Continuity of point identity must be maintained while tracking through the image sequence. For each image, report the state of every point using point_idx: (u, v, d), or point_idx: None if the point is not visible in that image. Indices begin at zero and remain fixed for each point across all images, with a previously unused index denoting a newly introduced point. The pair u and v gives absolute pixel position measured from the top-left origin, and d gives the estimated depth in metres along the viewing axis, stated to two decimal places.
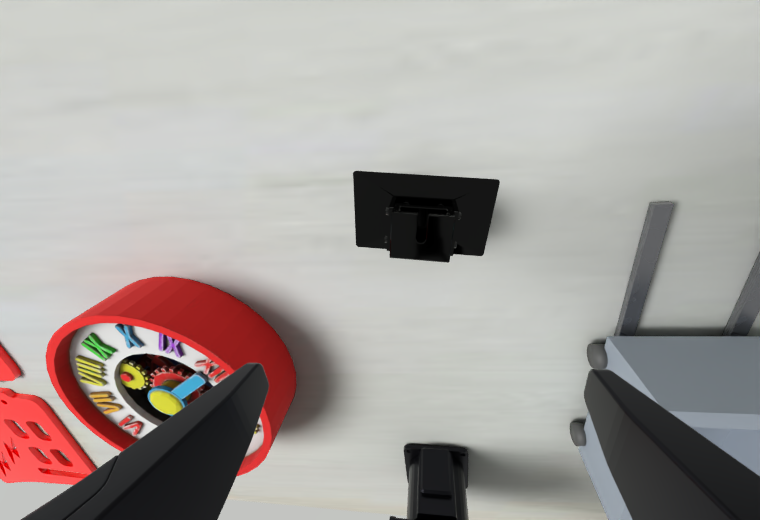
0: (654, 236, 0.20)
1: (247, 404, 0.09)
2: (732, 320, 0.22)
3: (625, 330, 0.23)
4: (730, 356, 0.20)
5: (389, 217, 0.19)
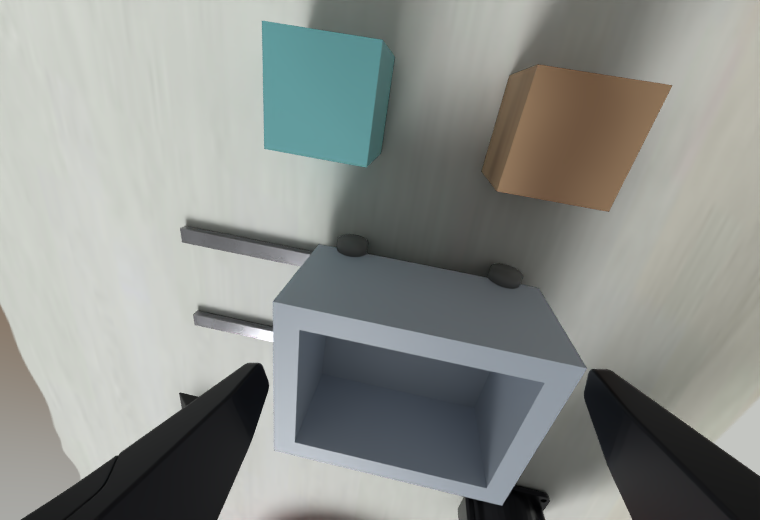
0: (220, 325, 0.24)
1: (247, 404, 0.09)
2: None
3: None
4: None
5: None
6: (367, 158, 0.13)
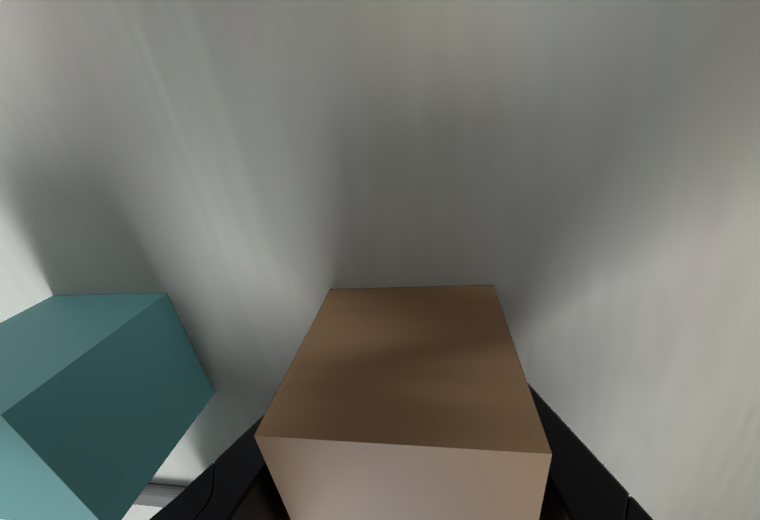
0: None
1: None
2: None
3: None
4: None
5: None
6: None
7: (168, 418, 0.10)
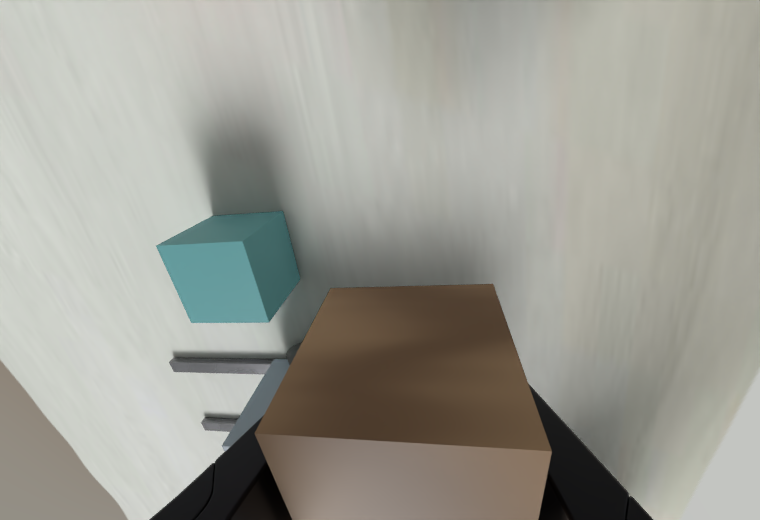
0: (224, 428, 0.27)
1: None
2: None
3: None
4: None
5: None
6: (267, 315, 0.16)
7: (284, 280, 0.18)
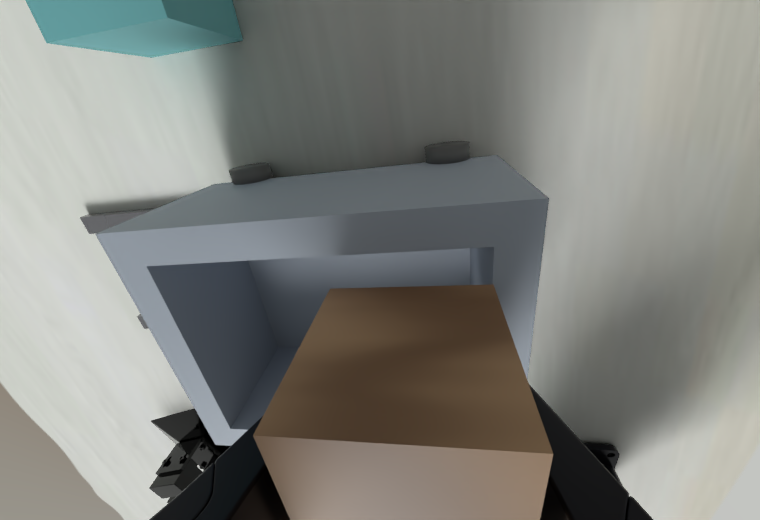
0: None
1: None
2: None
3: None
4: None
5: None
6: (163, 3, 0.09)
7: None
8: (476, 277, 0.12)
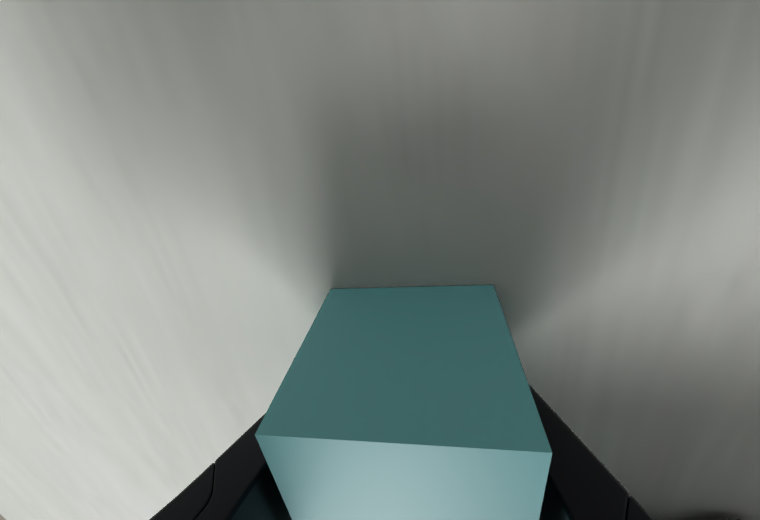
0: None
1: None
2: None
3: None
4: None
5: None
6: None
7: None
8: None
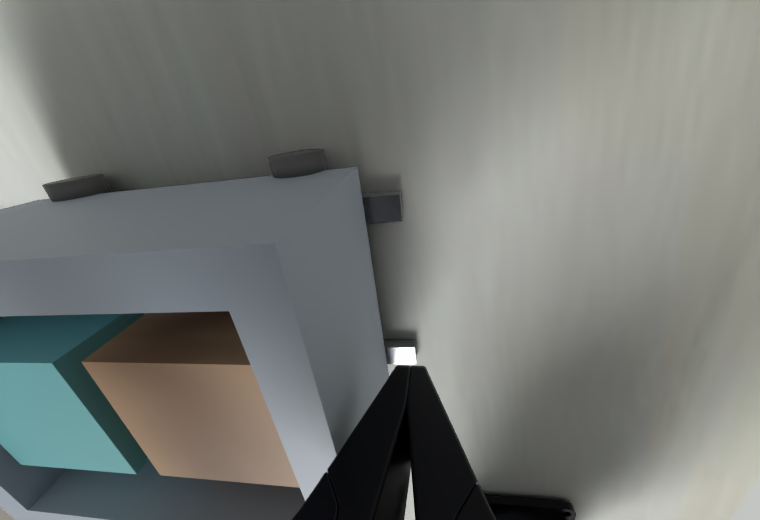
0: None
1: None
2: None
3: None
4: None
5: None
6: (133, 464, 0.09)
7: None
8: None
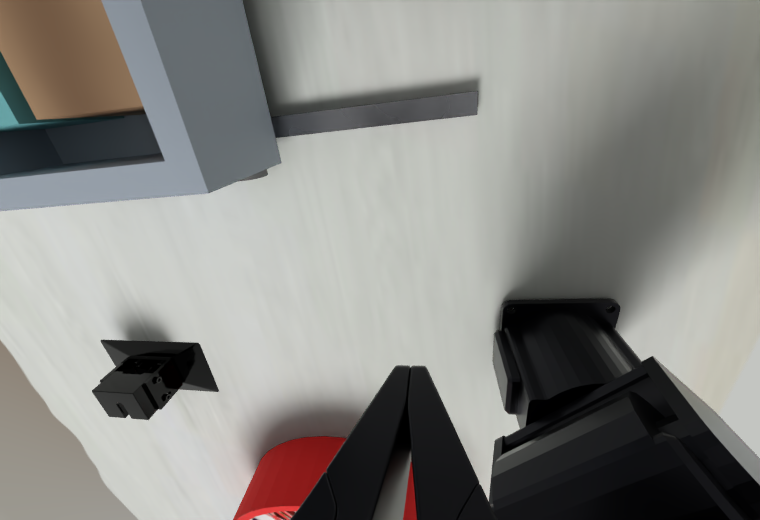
0: None
1: None
2: None
3: None
4: None
5: (156, 404, 0.25)
6: (15, 113, 0.11)
7: None
8: None
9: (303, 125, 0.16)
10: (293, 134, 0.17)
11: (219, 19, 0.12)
